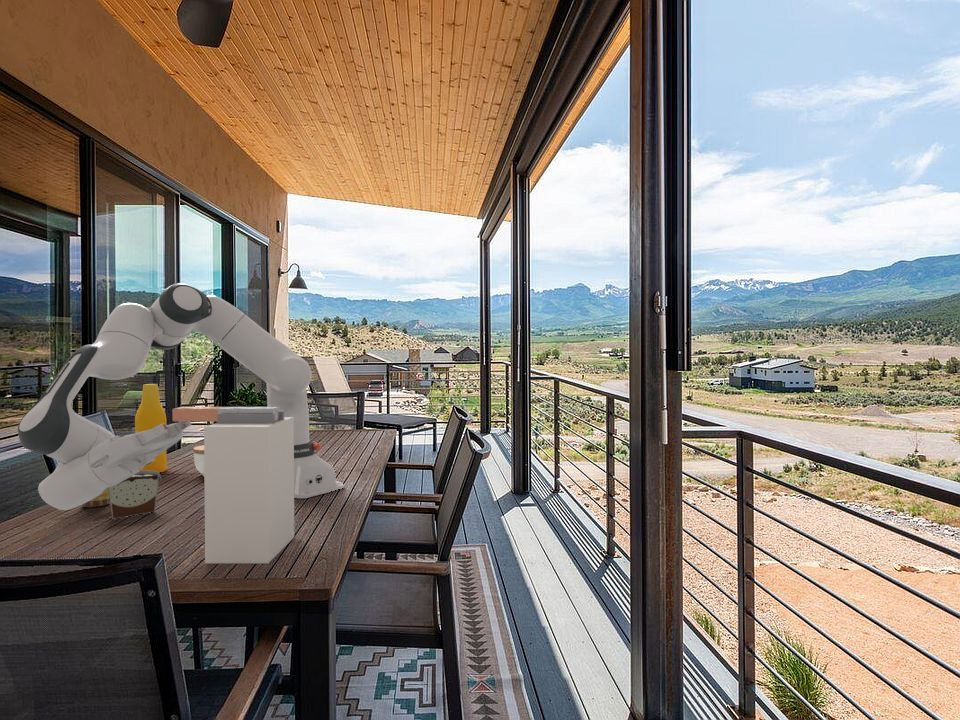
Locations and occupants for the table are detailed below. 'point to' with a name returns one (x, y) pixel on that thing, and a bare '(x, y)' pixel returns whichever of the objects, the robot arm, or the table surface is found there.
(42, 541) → the table surface
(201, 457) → the lidded bowl
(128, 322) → the robot arm
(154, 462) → the yellow bottle
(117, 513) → the half round cake
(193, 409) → the knife
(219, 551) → the stand
